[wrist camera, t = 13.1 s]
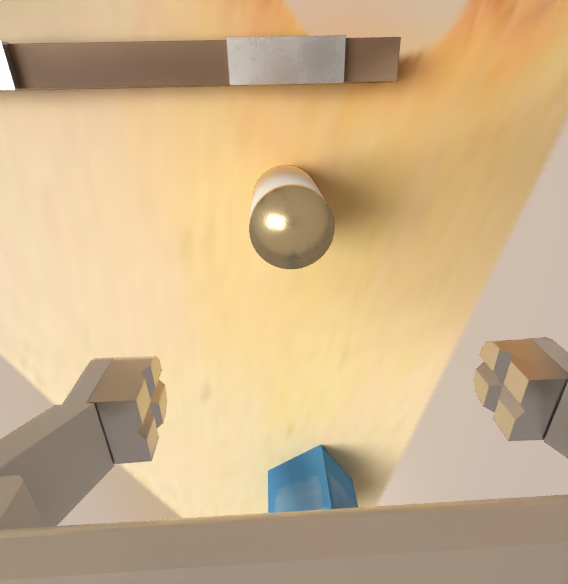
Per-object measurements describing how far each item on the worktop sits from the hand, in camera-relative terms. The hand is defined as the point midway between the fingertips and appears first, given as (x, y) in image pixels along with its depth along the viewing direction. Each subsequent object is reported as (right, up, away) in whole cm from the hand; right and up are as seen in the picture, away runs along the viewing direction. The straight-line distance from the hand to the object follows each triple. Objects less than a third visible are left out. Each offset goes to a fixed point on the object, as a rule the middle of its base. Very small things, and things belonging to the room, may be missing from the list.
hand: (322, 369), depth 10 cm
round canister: (-1, +8, +17) cm, 19 cm away
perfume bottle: (+2, -17, +30) cm, 34 cm away
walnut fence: (-8, +15, +13) cm, 22 cm away
